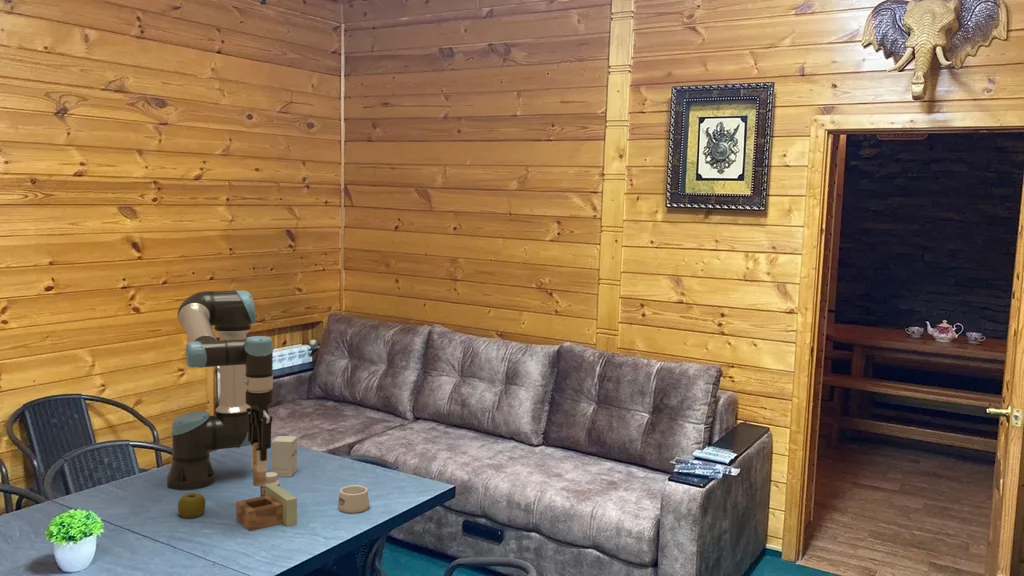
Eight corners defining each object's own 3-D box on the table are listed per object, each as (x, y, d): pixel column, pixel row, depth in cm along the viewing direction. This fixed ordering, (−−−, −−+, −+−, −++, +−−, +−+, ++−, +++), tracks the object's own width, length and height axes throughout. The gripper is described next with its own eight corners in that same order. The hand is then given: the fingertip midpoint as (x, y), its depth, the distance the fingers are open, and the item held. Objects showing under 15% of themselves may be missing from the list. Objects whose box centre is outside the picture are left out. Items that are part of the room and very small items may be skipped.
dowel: (251, 483, 233) (251, 443, 232) (263, 481, 235) (263, 441, 234) (255, 486, 230) (255, 446, 229) (267, 484, 232) (267, 444, 231)
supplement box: (291, 477, 277) (291, 441, 275) (270, 476, 277) (270, 441, 276) (297, 470, 284) (297, 435, 283) (276, 469, 284) (276, 435, 283)
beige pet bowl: (375, 509, 250) (375, 490, 249) (348, 516, 243) (349, 497, 242) (354, 498, 258) (354, 480, 258) (327, 505, 252) (328, 487, 251)
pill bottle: (273, 509, 247) (273, 478, 246) (256, 507, 248) (256, 476, 247) (282, 502, 252) (282, 472, 252) (266, 501, 254) (266, 470, 253)
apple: (189, 525, 233) (188, 501, 232) (172, 519, 237) (171, 496, 236) (211, 517, 239) (210, 494, 238) (194, 511, 243) (193, 489, 243)
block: (236, 519, 234) (236, 501, 234) (269, 512, 241) (269, 494, 240) (249, 530, 227) (249, 512, 226) (282, 523, 233) (282, 504, 232)
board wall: (180, 532, 227) (180, 502, 226) (274, 511, 245) (274, 483, 244) (199, 552, 215) (198, 519, 214) (296, 528, 233) (296, 498, 232)
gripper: (235, 386, 234) (236, 464, 236) (257, 397, 221) (257, 479, 223) (260, 383, 239) (260, 459, 241) (283, 393, 226) (283, 474, 228)
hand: (259, 468), depth 232 cm, fingers closed on dowel, 3 cm apart
